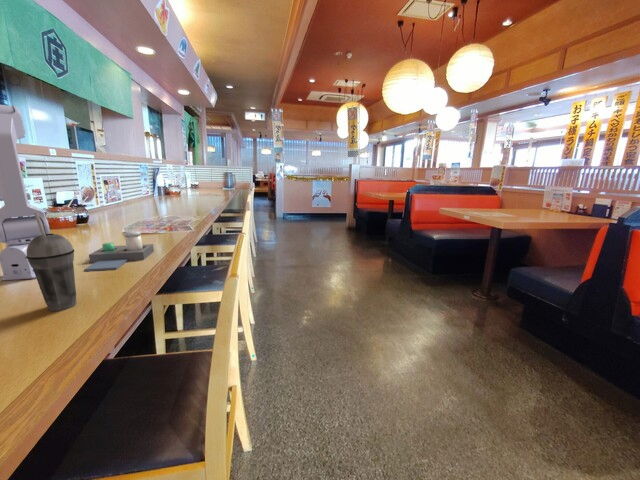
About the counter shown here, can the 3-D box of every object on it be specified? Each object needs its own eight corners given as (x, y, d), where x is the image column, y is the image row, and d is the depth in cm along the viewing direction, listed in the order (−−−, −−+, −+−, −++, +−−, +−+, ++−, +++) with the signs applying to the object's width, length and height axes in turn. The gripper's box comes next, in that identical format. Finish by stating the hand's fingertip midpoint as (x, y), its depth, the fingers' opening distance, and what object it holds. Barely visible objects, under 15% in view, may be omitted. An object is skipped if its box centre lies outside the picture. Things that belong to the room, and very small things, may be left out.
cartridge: (141, 257, 96) (137, 233, 94) (125, 258, 95) (121, 234, 93) (146, 253, 100) (142, 230, 98) (130, 254, 99) (127, 231, 97)
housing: (144, 259, 93) (143, 252, 93) (90, 262, 90) (88, 254, 90) (154, 251, 103) (153, 244, 102) (105, 253, 100) (104, 246, 99)
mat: (116, 269, 84) (116, 267, 84) (84, 271, 83) (84, 269, 83) (127, 260, 92) (127, 259, 92) (98, 262, 90) (98, 260, 90)
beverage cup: (93, 299, 65) (76, 209, 60) (62, 315, 58) (39, 215, 53) (63, 298, 66) (43, 208, 61) (29, 313, 59) (4, 214, 54)
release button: (112, 253, 94) (111, 244, 93) (102, 254, 94) (100, 245, 93) (116, 251, 97) (115, 242, 96) (106, 251, 96) (105, 242, 96)
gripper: (23, 178, 101) (31, 216, 105) (-43, 179, 89) (-31, 222, 94) (29, 182, 97) (36, 221, 101) (-40, 184, 86) (-28, 228, 90)
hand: (4, 222), depth 97 cm, fingers open, 7 cm apart
